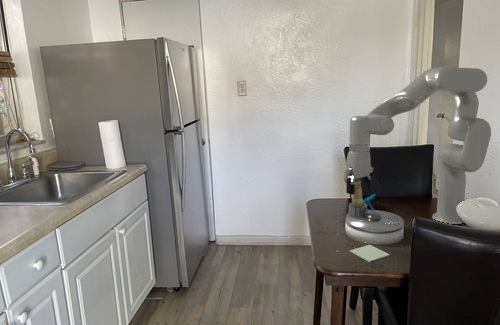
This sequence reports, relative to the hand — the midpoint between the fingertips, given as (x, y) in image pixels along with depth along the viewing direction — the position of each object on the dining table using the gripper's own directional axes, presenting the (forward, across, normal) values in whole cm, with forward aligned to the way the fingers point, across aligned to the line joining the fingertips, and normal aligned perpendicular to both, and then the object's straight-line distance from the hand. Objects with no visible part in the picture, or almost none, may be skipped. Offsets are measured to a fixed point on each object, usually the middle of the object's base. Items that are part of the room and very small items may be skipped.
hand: (358, 191), depth 136 cm
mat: (+15, +15, +17) cm, 27 cm away
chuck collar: (+11, 0, +7) cm, 13 cm away
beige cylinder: (+9, 0, 0) cm, 9 cm away
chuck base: (+15, -1, +7) cm, 17 cm away
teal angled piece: (+15, -22, -12) cm, 30 cm away
